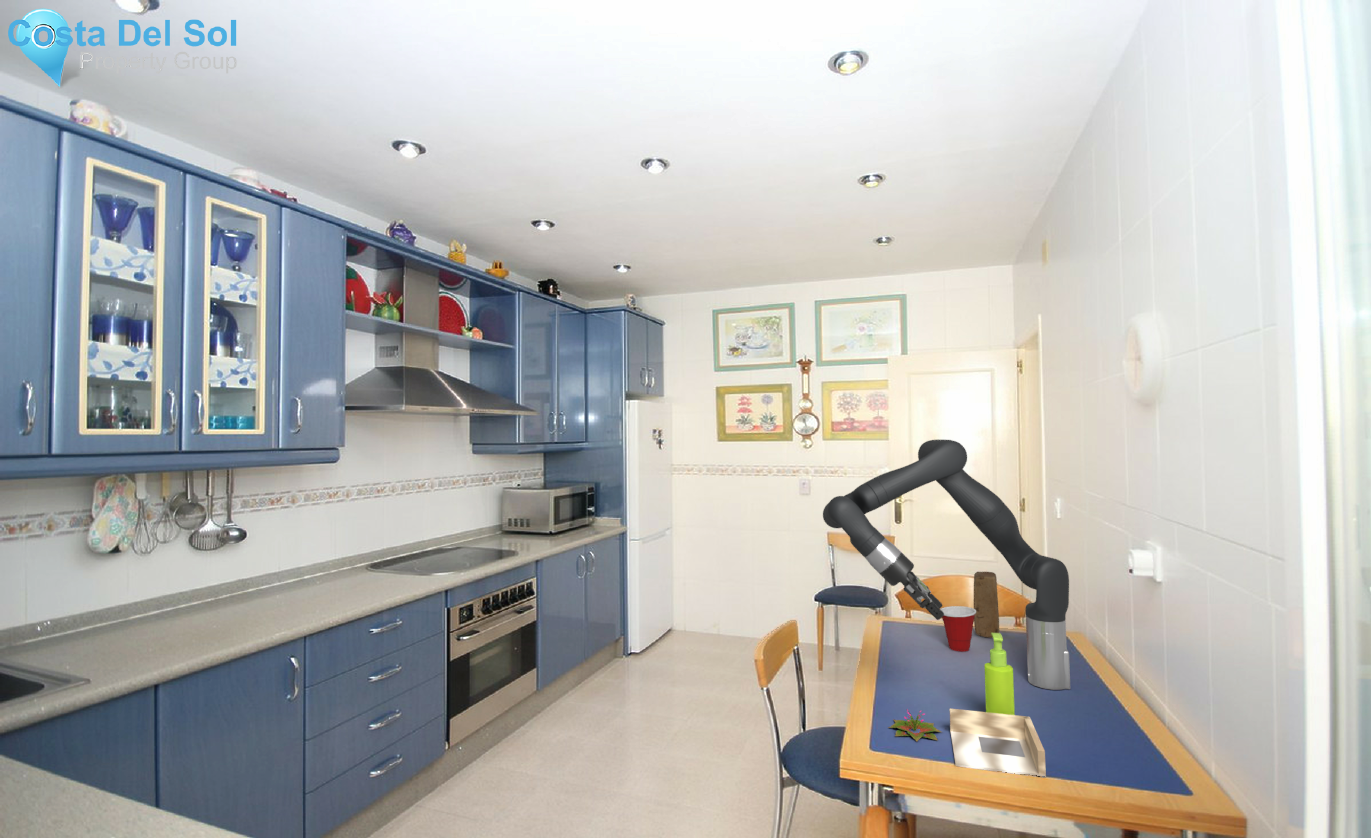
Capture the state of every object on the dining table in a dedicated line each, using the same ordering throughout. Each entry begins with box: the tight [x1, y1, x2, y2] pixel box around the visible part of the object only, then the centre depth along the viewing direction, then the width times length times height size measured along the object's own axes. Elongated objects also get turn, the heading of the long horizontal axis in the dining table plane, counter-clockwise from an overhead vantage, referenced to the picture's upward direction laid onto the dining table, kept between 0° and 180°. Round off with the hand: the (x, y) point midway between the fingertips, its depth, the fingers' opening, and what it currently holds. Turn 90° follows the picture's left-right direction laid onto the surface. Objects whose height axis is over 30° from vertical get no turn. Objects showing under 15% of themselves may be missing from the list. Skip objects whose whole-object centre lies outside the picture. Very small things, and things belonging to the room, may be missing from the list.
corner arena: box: [949, 708, 1047, 778], centre depth 134 cm, size 16×16×5 cm
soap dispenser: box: [983, 632, 1016, 715], centre depth 148 cm, size 6×7×20 cm
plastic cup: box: [940, 605, 976, 653], centre depth 200 cm, size 11×11×12 cm
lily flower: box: [887, 709, 942, 742], centre depth 145 cm, size 12×12×5 cm
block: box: [973, 571, 1000, 639], centre depth 213 cm, size 11×8×20 cm
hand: (940, 612), depth 154 cm, fingers open, 8 cm apart
